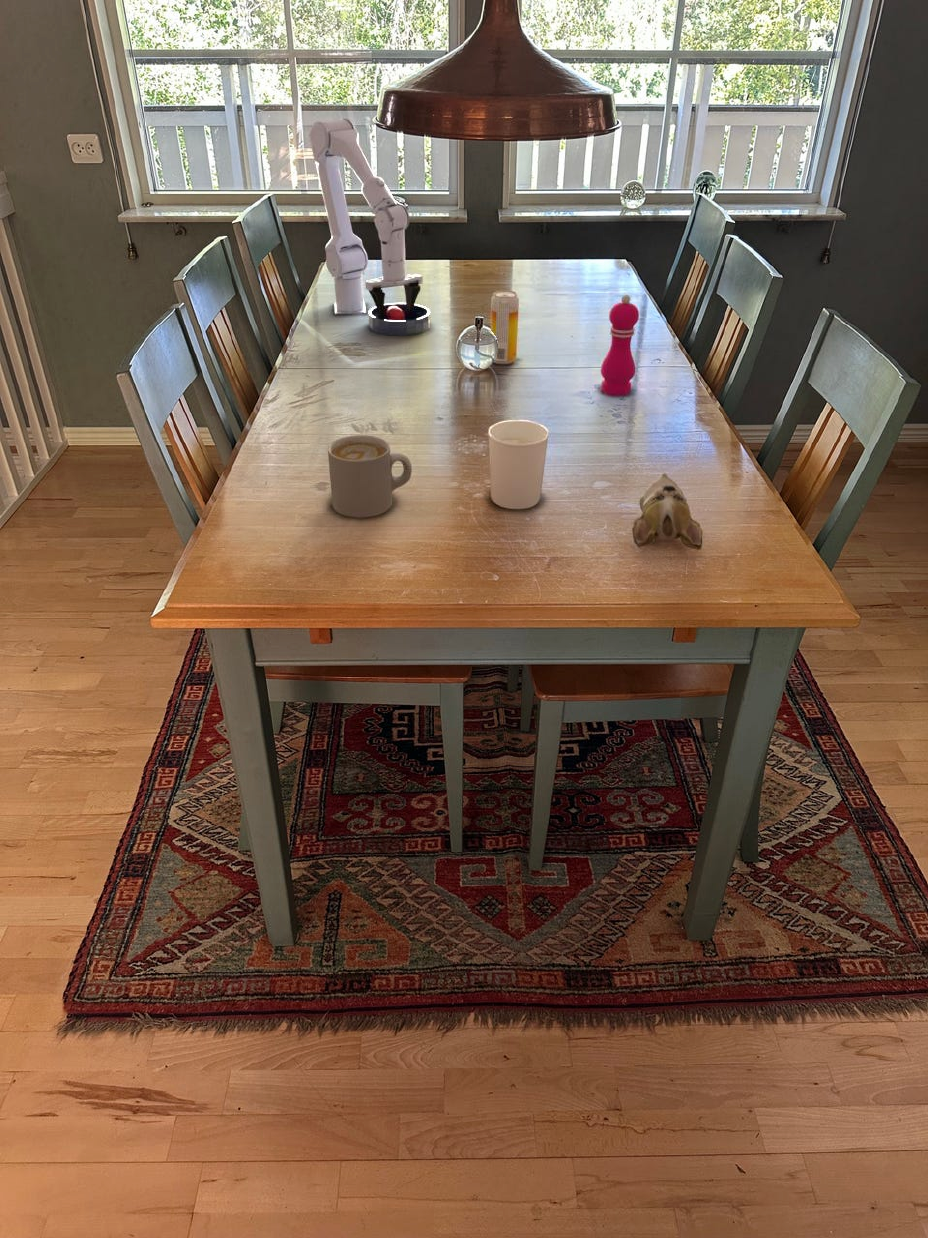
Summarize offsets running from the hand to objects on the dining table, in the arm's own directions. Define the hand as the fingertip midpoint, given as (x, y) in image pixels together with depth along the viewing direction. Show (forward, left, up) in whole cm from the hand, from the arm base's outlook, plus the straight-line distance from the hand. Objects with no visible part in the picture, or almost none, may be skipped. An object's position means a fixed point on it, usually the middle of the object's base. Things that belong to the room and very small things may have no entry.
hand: (395, 315), depth 225 cm
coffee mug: (+94, -10, -3) cm, 95 cm away
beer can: (+28, +23, -3) cm, 36 cm away
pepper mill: (+49, +44, -3) cm, 66 cm away
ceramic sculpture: (+110, +35, -3) cm, 116 cm away
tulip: (+2, +1, -2) cm, 3 cm away
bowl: (+2, +1, -2) cm, 3 cm away
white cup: (+95, +14, -3) cm, 96 cm away
